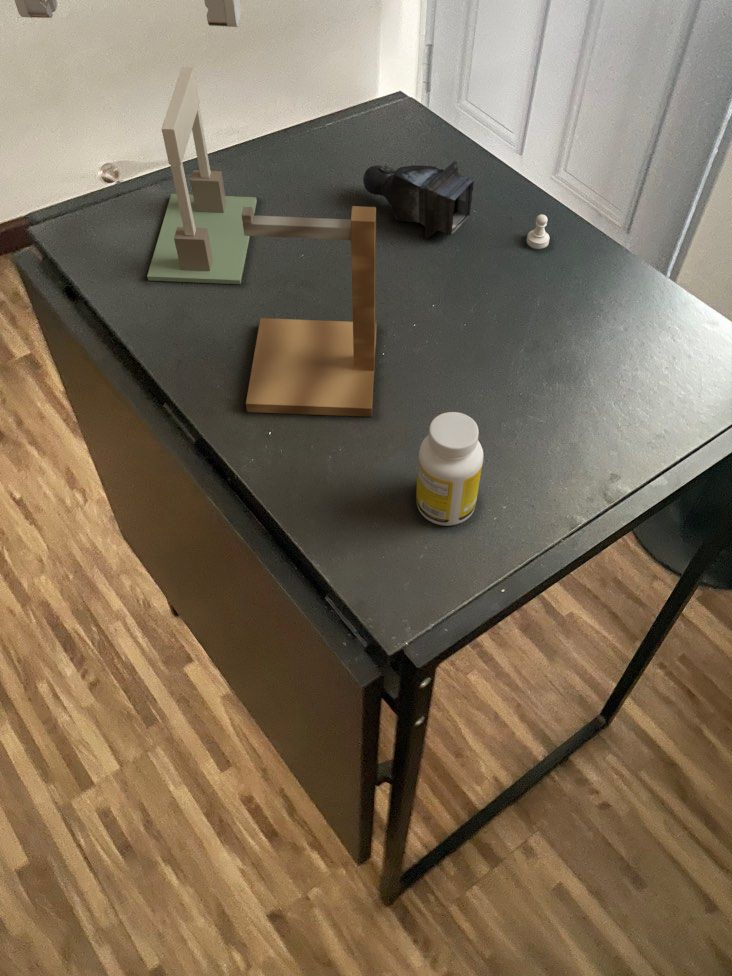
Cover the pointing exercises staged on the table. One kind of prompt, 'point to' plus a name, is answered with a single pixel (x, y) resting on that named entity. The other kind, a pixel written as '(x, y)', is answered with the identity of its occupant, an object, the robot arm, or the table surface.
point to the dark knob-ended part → (424, 195)
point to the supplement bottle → (449, 469)
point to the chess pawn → (539, 234)
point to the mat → (223, 241)
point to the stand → (319, 330)
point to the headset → (203, 181)
